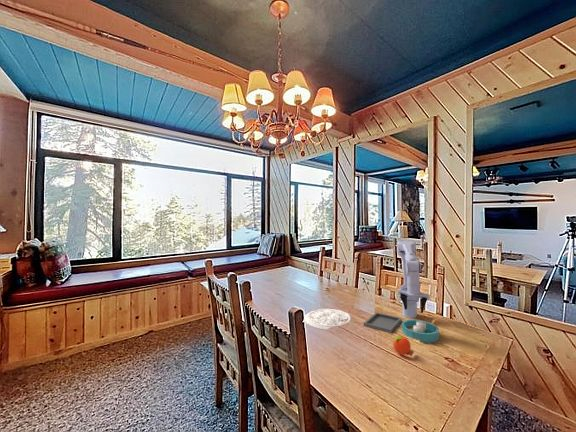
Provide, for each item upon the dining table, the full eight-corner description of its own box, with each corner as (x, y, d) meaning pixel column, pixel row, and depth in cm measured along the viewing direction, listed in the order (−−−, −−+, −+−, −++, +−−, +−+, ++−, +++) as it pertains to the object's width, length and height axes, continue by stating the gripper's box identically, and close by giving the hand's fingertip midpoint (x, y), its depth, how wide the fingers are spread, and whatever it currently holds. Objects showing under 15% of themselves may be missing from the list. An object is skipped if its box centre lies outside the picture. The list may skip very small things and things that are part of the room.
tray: (376, 316, 149) (376, 312, 149) (401, 322, 140) (401, 318, 140) (363, 327, 135) (363, 322, 135) (391, 335, 126) (390, 330, 126)
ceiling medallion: (355, 332, 131) (355, 326, 131) (300, 328, 137) (300, 322, 137) (352, 311, 158) (352, 306, 158) (307, 309, 164) (307, 304, 164)
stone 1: (414, 332, 127) (414, 324, 127) (424, 334, 124) (424, 326, 124) (412, 335, 124) (412, 327, 124) (422, 338, 121) (422, 329, 121)
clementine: (398, 359, 106) (398, 342, 106) (387, 350, 112) (387, 334, 112) (414, 355, 108) (414, 339, 108) (402, 347, 115) (402, 331, 115)
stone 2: (417, 328, 132) (417, 320, 132) (426, 330, 129) (426, 322, 129) (415, 331, 128) (415, 323, 128) (425, 333, 126) (425, 325, 126)
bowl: (407, 324, 138) (406, 317, 138) (441, 332, 128) (441, 324, 127) (397, 336, 125) (397, 327, 125) (435, 346, 115) (435, 337, 115)
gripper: (396, 283, 133) (396, 309, 133) (427, 288, 124) (428, 316, 124) (400, 280, 138) (400, 305, 139) (430, 284, 129) (431, 311, 129)
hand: (413, 310), depth 132 cm, fingers open, 7 cm apart
